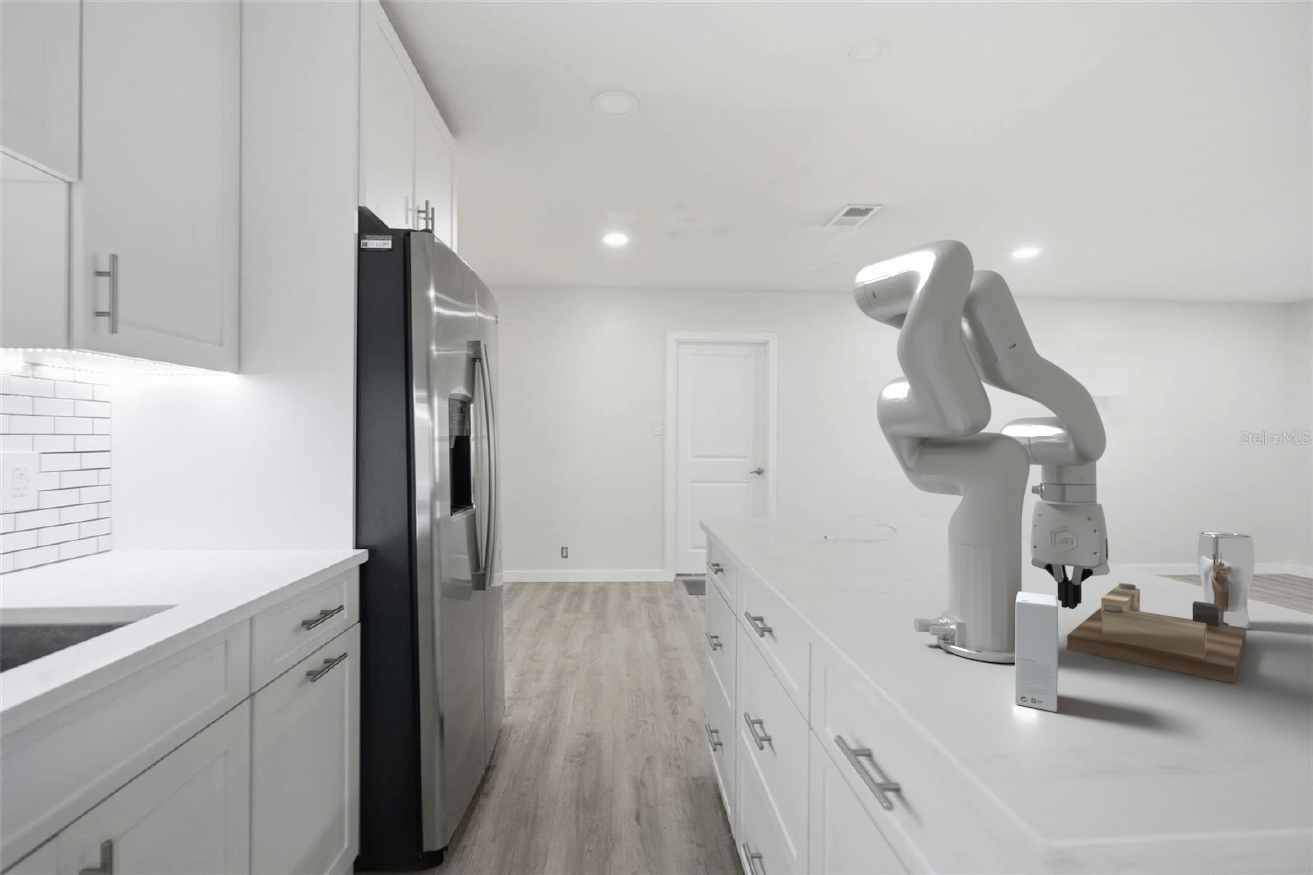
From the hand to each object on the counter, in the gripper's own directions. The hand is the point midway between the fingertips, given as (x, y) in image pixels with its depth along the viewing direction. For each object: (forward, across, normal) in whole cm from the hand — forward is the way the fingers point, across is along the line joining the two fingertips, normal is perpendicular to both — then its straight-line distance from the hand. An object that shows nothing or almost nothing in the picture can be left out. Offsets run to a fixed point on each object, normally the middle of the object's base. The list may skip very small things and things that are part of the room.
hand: (1069, 606), depth 101 cm
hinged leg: (+1, +6, +3) cm, 7 cm away
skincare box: (+3, +5, -36) cm, 37 cm away
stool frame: (+4, +11, 0) cm, 12 cm away
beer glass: (+4, +18, +21) cm, 28 cm away
